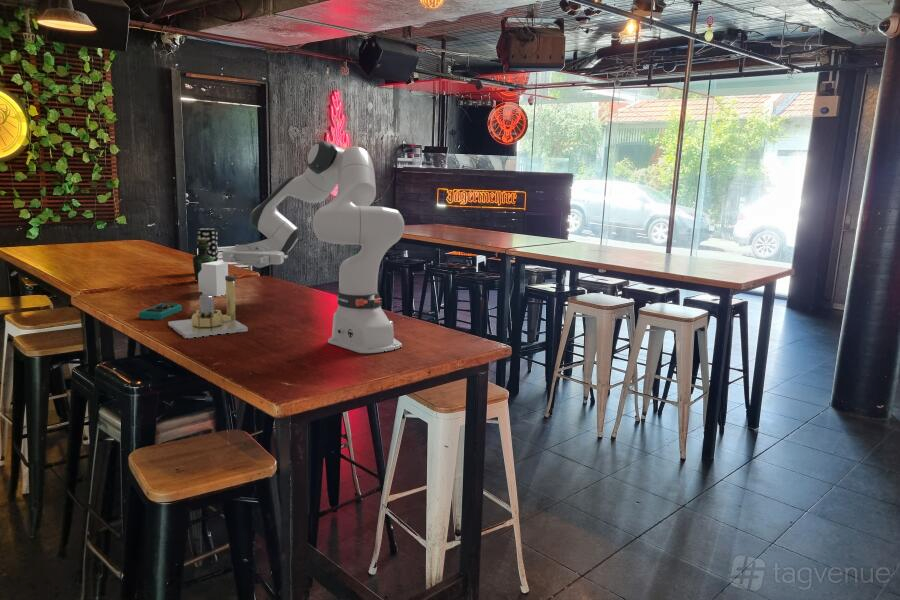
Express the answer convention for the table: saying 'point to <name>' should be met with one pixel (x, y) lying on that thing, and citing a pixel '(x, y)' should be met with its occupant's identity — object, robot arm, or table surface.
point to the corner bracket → (213, 278)
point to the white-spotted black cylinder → (209, 241)
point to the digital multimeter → (160, 311)
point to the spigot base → (193, 331)
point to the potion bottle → (201, 256)
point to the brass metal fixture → (217, 316)
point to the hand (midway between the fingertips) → (245, 260)
